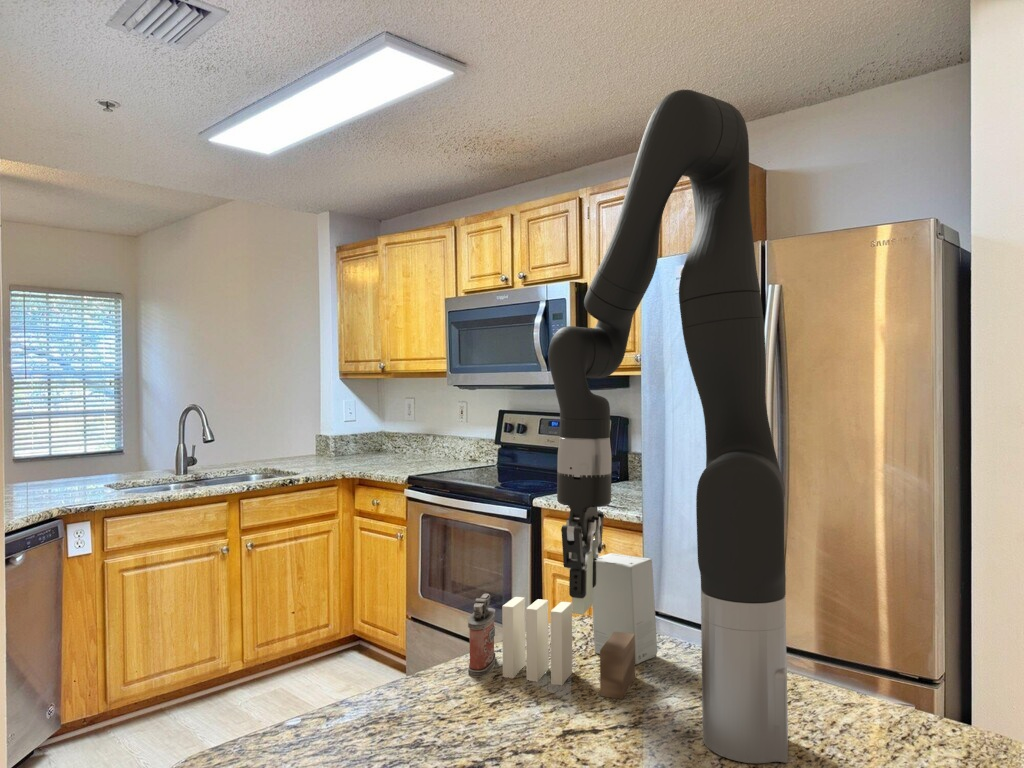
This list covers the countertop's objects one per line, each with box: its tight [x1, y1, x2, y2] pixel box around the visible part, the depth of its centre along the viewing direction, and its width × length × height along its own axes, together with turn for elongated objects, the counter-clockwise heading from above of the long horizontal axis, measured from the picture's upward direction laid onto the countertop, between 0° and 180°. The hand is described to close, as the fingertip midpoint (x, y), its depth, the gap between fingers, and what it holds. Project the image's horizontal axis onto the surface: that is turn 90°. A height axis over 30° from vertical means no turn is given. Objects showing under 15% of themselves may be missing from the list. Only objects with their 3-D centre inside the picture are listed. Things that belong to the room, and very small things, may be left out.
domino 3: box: [549, 601, 573, 686], centre depth 100 cm, size 2×5×10 cm, turn 158°
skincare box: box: [591, 552, 658, 665], centre depth 109 cm, size 8×6×15 cm
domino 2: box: [525, 598, 550, 683], centre depth 101 cm, size 2×5×10 cm, turn 158°
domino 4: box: [571, 541, 593, 615], centre depth 99 cm, size 2×5×10 cm, turn 159°
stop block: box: [599, 632, 636, 700], centre depth 97 cm, size 3×8×6 cm, turn 159°
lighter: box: [467, 593, 497, 678], centre depth 105 cm, size 8×3×10 cm, turn 168°
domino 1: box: [501, 596, 526, 679], centre depth 103 cm, size 2×5×10 cm, turn 158°
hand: (583, 591), depth 99 cm, fingers closed on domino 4, 5 cm apart
